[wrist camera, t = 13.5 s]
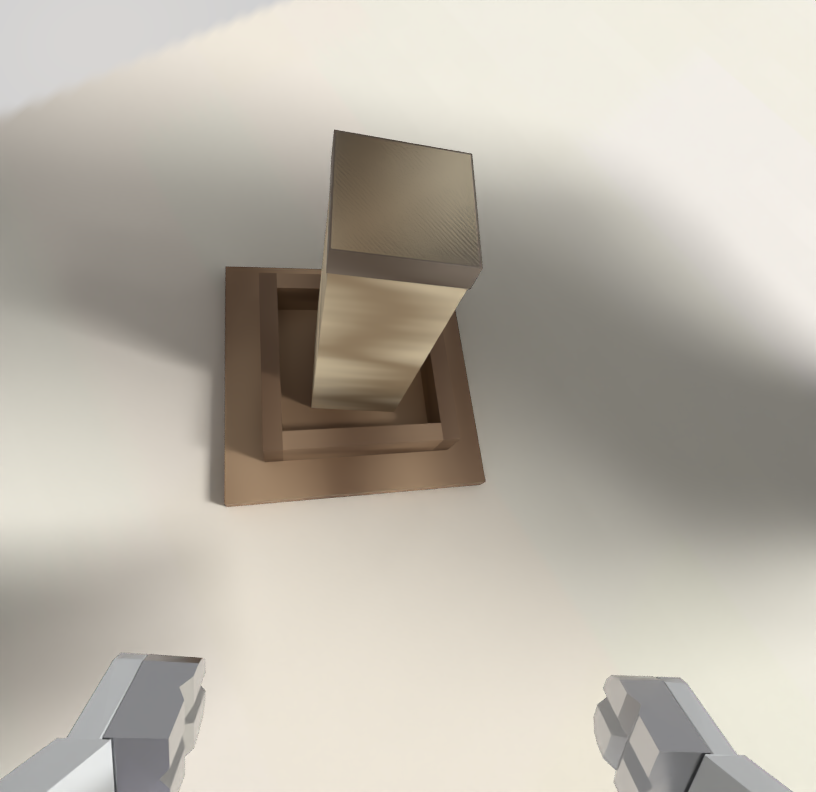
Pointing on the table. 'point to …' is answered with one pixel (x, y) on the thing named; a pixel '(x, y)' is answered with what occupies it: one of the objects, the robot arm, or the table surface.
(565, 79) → the table surface
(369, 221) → the tall wooden pillar
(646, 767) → the robot arm
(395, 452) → the dock
